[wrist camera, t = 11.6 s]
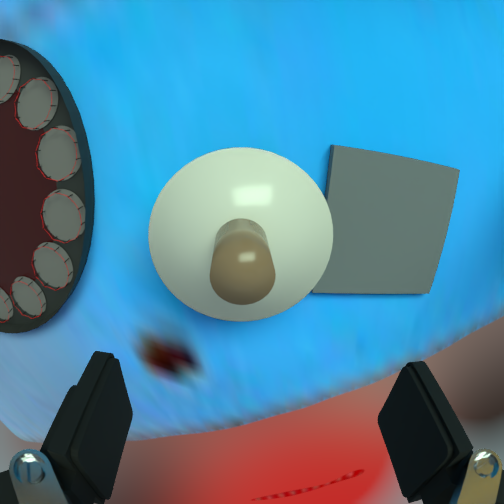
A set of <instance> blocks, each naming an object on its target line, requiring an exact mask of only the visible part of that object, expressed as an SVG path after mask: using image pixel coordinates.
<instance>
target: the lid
mask: <svg viewBox="0 0 504 504" xmlns="http://www.w3.org/2000/svg"><path fill="white" fill-rule="evenodd" d="M148 239H149V248H150V253H151V257H152V261H153V263H154V266H155V268H156V271H157V273H158V274H159V276H160V278H161V280H162V281H163V283H164V284H165V285H166V287H167V288H168V289H169V290H170V291H171V292H172V293H173V294H174V295H175V296H176V297H177V298H178V299H179V300H180V301H182V302H183V303H184V304H185V305H187V306H189V307H190V308H192V309H193V310H195V311H197V312H200V313H202V314H204V315H207V316H210V317H213V318H217V319H221V320H227V321H253V320H260V319H264V318H268V317H271V316H274V315H276V314H279V313H281V312H283V311H285V310H287V309H289V308H290V307H292V306H294V305H295V304H297V303H298V302H299V301H300V300H302V299H303V298H304V297H305V296H306V295H307V294H308V293H309V292H310V291H311V290H312V289H313V288H314V287H315V285H316V284H317V282H318V281H319V280H320V278H321V276H322V275H323V273H324V271H325V269H326V266H327V264H328V261H329V259H330V255H331V251H332V244H333V224H332V218H331V213H330V210H329V207H328V204H327V202H326V200H325V198H324V196H323V194H322V192H321V190H320V189H319V188H318V186H317V185H316V183H315V182H314V181H313V180H312V179H311V178H310V176H309V175H308V174H307V173H306V172H304V171H303V170H302V169H301V168H300V167H298V166H297V165H296V164H294V163H293V162H291V161H289V160H288V159H286V158H284V157H282V156H280V155H278V154H275V153H273V152H270V151H266V150H262V149H257V148H250V147H232V148H225V149H220V150H216V151H213V152H209V153H207V154H205V155H202V156H200V157H198V158H196V159H195V160H193V161H191V162H190V163H188V164H187V165H185V166H184V167H183V168H182V169H180V170H179V171H178V172H177V173H176V174H175V175H174V176H173V177H172V178H171V179H170V180H169V181H168V182H167V184H166V185H165V186H164V188H163V189H162V191H161V192H160V194H159V196H158V198H157V200H156V202H155V204H154V207H153V210H152V213H151V217H150V223H149V238H148Z"/></svg>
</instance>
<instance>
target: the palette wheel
mask: <svg viewBox="0 0 504 504" xmlns="http://www.w3.org/2000/svg"><path fill="white" fill-rule="evenodd" d="M93 221H94V179H93V171H92V163H91V155H90V151H89V146H88V141H87V137H86V132H85V129H84V126H83V123H82V120H81V116H80V113H79V111H78V108H77V106H76V104H75V101H74V99H73V97H72V95H71V92H70V91H69V89H68V87H67V86H66V84H65V82H64V81H63V79H62V77H61V76H60V74H59V73H58V72H57V71H56V70H55V68H54V67H53V66H52V65H51V63H50V62H49V61H47V60H46V59H45V58H44V57H43V56H42V55H40V54H39V53H38V52H36V51H35V50H33V49H31V48H29V47H28V46H25V45H22V44H19V43H16V42H12V41H8V40H3V39H0V332H4V333H20V332H26V331H29V330H32V329H35V328H38V327H39V326H41V325H42V324H44V323H46V322H47V321H48V320H49V319H51V318H52V317H53V316H54V315H55V314H56V313H57V312H58V310H59V309H60V308H61V306H62V305H63V304H64V303H65V301H66V300H67V299H68V297H69V296H70V295H71V294H72V292H73V290H74V288H75V287H76V285H77V283H78V281H79V279H80V277H81V274H82V272H83V269H84V266H85V264H86V260H87V256H88V252H89V248H90V244H91V237H92V230H93Z"/></svg>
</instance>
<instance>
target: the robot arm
mask: <svg viewBox="0 0 504 504" xmlns="http://www.w3.org/2000/svg"><path fill="white" fill-rule="evenodd" d="M132 415H133V412H132V407H131V404H130V400H129V397H128V393H127V390H126V386H125V382H124V378H123V375H122V371H121V367H120V362H119V360H118V359H116V358H114V355H113V354H112V353H106V352H100V351H95V352H94V353H93V355H92V357H91V359H90V361H89V363H88V365H87V366H86V368H85V370H84V372H83V374H82V376H81V378H80V380H79V382H78V384H77V385H73V386H72V387H71V388H70V389H69V391H68V392H67V394H66V396H65V398H64V400H63V402H62V404H61V407H60V409H59V411H58V413H57V415H56V417H55V419H54V421H53V423H52V425H51V427H50V430H49V432H48V434H47V436H46V438H45V441H44V443H43V445H42V447H41V450H40V452H39V451H37V450H33V449H26V450H22V451H20V452H18V453H17V454H16V455H15V456H13V458H12V460H11V461H10V466H9V470H7V471H4V472H1V473H0V504H93V503H97V504H104V502H105V499H107V500H108V499H110V497H111V494H112V490H113V486H114V482H115V478H116V474H117V471H118V467H119V463H120V459H121V456H122V452H123V449H124V445H125V442H126V438H127V435H128V431H129V428H130V424H131V421H132ZM378 425H379V427H380V430H381V433H382V436H383V439H384V441H385V444H386V447H387V450H388V453H389V455H390V459H391V462H392V465H393V467H394V470H395V474H396V477H397V480H398V483H399V486H400V489H401V491H402V494H403V496H404V497H407V500H408V502H409V503H411V502H414V501H418V500H421V499H422V501H423V504H504V470H502V463H501V459H500V458H499V456H498V455H497V454H496V453H495V452H494V451H492V450H490V449H485V448H484V449H479V450H477V451H475V452H474V453H473V451H472V449H473V446H472V444H471V442H470V441H469V439H468V437H467V435H466V433H465V431H464V429H463V427H462V425H461V423H460V422H459V420H458V418H457V416H456V414H455V413H454V411H453V409H452V407H451V405H450V404H449V402H448V400H447V398H446V397H445V395H444V393H443V391H442V390H441V388H440V387H439V385H438V383H437V381H436V380H435V378H434V376H433V375H432V373H431V371H430V370H429V368H428V366H427V365H426V363H425V362H423V361H419V362H409V363H407V364H406V366H405V367H403V368H402V370H401V372H400V374H399V376H398V378H397V380H396V382H395V384H394V386H393V388H392V390H391V392H390V394H389V396H388V398H387V400H386V402H385V404H384V406H383V408H382V410H381V411H380V413H379V415H378Z"/></svg>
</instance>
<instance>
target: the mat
mask: <svg viewBox="0 0 504 504" xmlns="http://www.w3.org/2000/svg"><path fill="white" fill-rule="evenodd" d="M459 171H460V170H458V169H455V168H451V167H447V166H443V165H439V164H435V163H430V162H426V161H421V160H417V159H412V158H407V157H402V156H397V155H392V154H387V153H381V152H376V151H370V150H364V149H358V148H351V147H345V146H338V145H331V149H330V158H329V166H328V175H327V183H326V190H325V200H326V202H327V204H328V207H329V210H330V213H331V218H332V224H333V244H332V251H331V255H330V259H329V261H328V264H327V266H326V269H325V271H324V273H323V275H322V276H321V278H320V280H319V281H318V282H317V284H316V285H315V287H314V288H313V289H312V293H359V294H426V293H429V292H430V289H431V286H432V283H433V280H434V276H435V273H436V270H437V267H438V263H439V260H440V256H441V253H442V249H443V245H444V242H445V238H446V234H447V230H448V226H449V221H450V217H451V213H452V208H453V203H454V199H455V194H456V188H457V183H458V177H459Z"/></svg>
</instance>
